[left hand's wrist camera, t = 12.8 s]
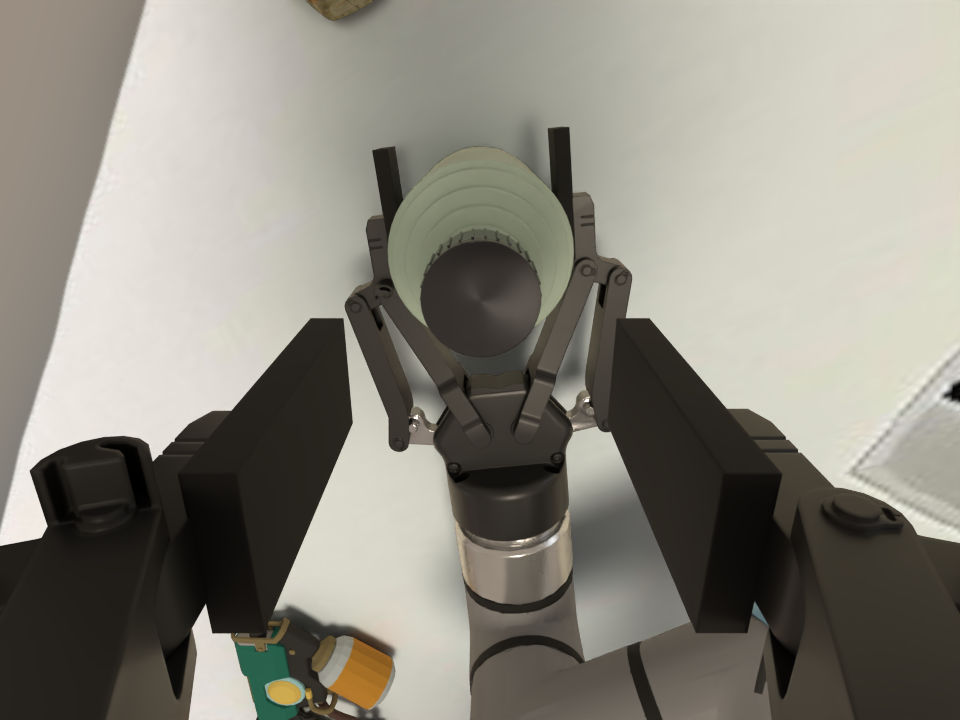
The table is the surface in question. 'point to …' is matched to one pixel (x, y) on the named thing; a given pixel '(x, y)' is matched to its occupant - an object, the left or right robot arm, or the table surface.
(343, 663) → the spray gun
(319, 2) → the sculpture
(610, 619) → the table surface
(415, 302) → the bottle
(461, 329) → the cap
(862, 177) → the table surface
